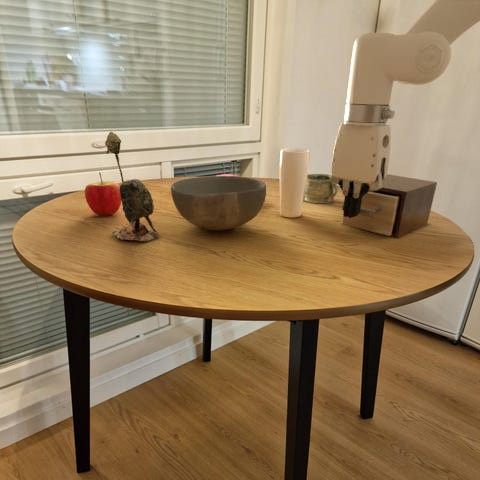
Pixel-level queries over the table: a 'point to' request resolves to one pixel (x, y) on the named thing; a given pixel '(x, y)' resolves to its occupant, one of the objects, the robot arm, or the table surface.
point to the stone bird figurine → (132, 201)
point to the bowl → (218, 200)
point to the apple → (103, 197)
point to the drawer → (377, 212)
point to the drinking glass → (293, 180)
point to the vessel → (320, 188)
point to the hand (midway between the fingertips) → (350, 215)
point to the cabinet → (410, 201)
